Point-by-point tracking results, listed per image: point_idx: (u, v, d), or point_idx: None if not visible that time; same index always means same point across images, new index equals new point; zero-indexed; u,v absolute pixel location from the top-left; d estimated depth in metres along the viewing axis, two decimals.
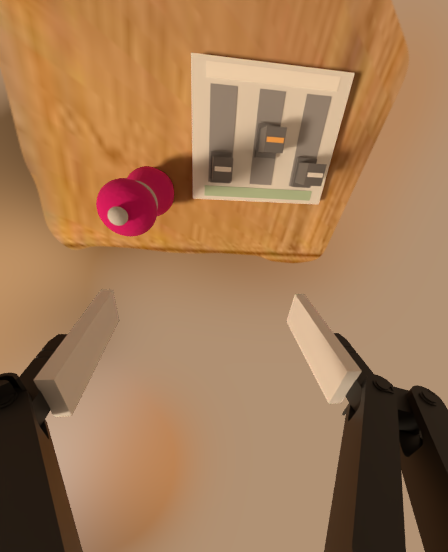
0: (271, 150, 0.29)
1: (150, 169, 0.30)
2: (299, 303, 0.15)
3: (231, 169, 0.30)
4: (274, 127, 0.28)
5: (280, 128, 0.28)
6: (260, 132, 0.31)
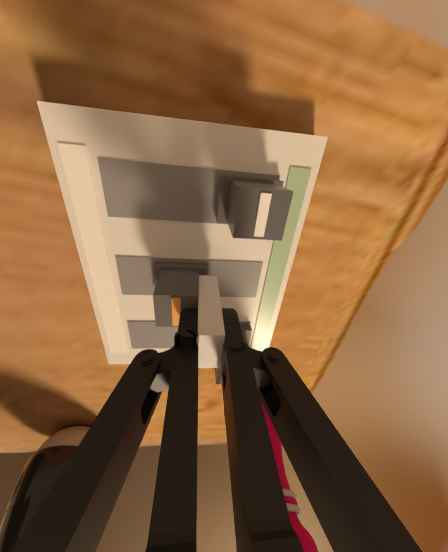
0: None
1: None
2: (208, 283, 0.16)
3: None
4: (156, 315, 0.15)
5: (156, 305, 0.14)
6: None
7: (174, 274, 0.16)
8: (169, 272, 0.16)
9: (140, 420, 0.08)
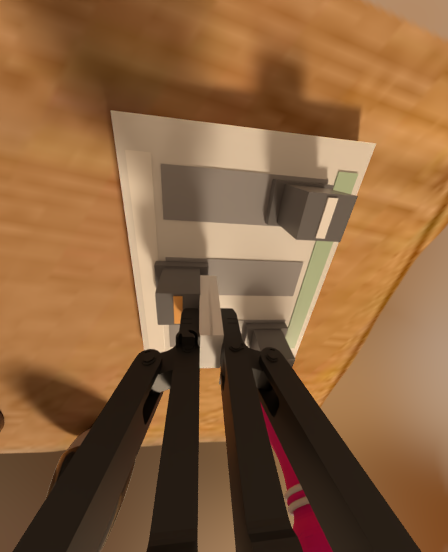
0: None
1: None
2: (207, 283, 0.16)
3: None
4: (158, 313, 0.15)
5: (158, 304, 0.14)
6: None
7: (175, 273, 0.16)
8: (170, 271, 0.17)
9: (141, 420, 0.08)
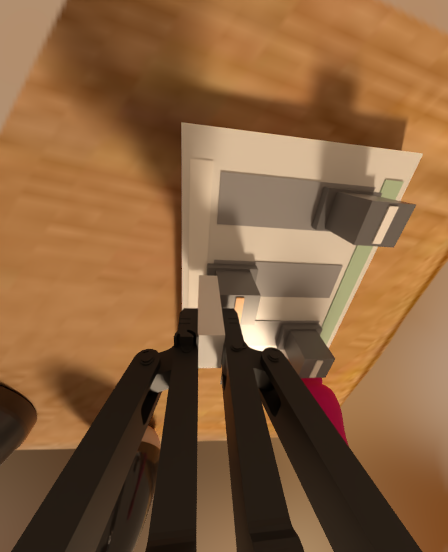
0: (253, 313, 0.16)
1: None
2: (208, 283, 0.16)
3: (319, 360, 0.19)
4: None
5: None
6: None
7: (230, 275, 0.17)
8: (224, 273, 0.17)
9: (140, 420, 0.08)
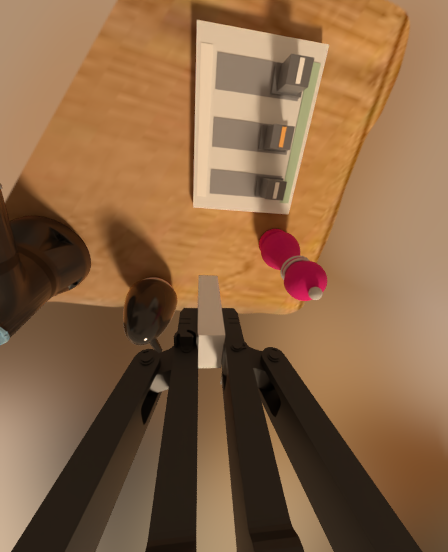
0: (290, 140, 0.30)
1: (265, 249, 0.39)
2: (208, 283, 0.16)
3: (277, 182, 0.32)
4: (272, 139, 0.29)
5: (274, 131, 0.29)
6: (267, 148, 0.33)
7: None
8: None
9: (140, 420, 0.08)
